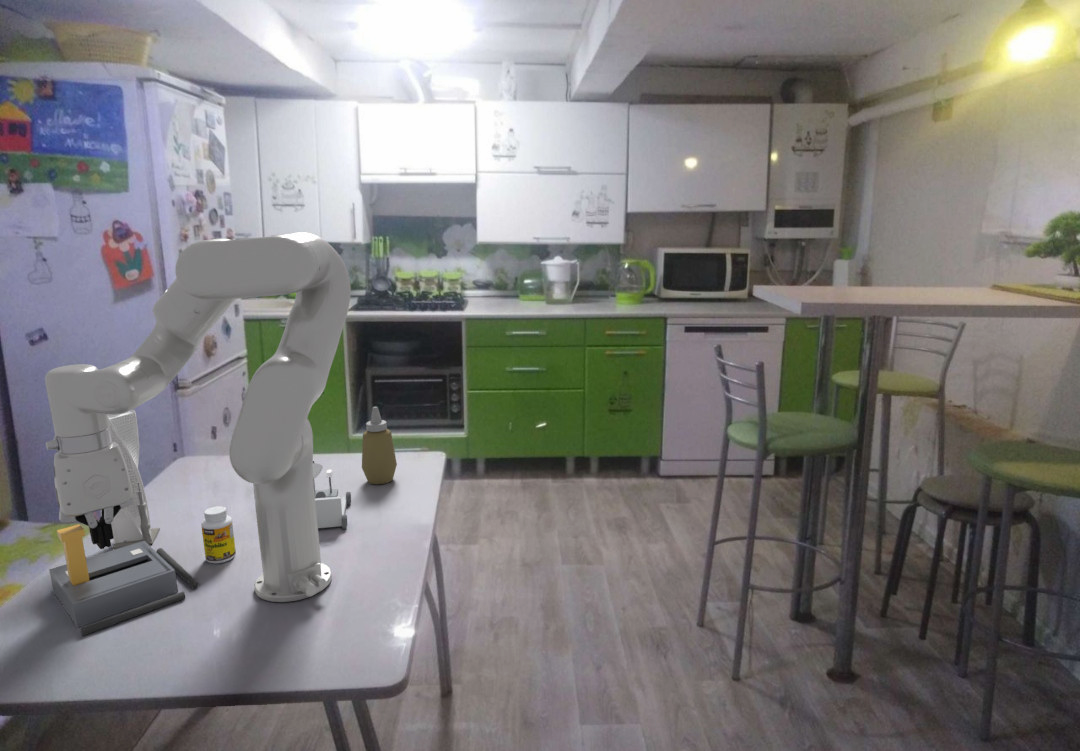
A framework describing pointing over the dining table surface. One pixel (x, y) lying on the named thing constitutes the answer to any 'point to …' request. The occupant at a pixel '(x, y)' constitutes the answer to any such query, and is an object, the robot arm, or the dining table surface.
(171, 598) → the grey thin bar
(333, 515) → the toy rover
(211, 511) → the supplement bottle
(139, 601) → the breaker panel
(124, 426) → the skyscraper
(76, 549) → the breaker lever
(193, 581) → the dark grey rod
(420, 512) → the dining table surface
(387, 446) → the squeeze bottle
